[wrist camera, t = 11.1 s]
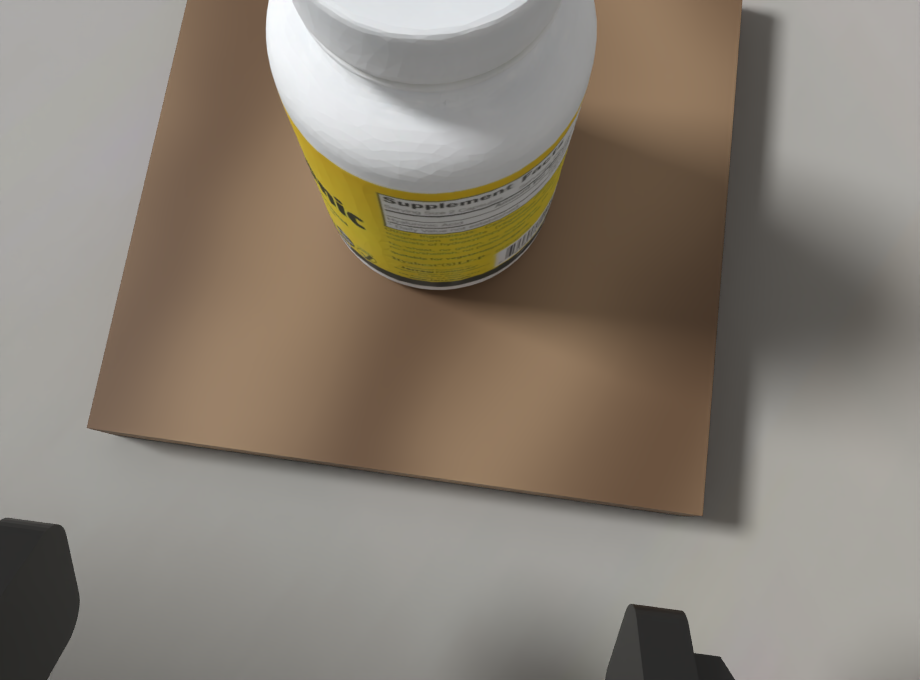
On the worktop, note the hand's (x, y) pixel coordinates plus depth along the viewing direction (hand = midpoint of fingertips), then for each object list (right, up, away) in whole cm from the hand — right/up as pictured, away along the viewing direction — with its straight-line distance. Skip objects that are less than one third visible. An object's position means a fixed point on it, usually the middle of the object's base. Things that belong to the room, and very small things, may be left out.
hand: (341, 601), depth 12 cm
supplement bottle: (+1, +7, +9) cm, 11 cm away
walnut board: (+1, +7, +10) cm, 12 cm away
